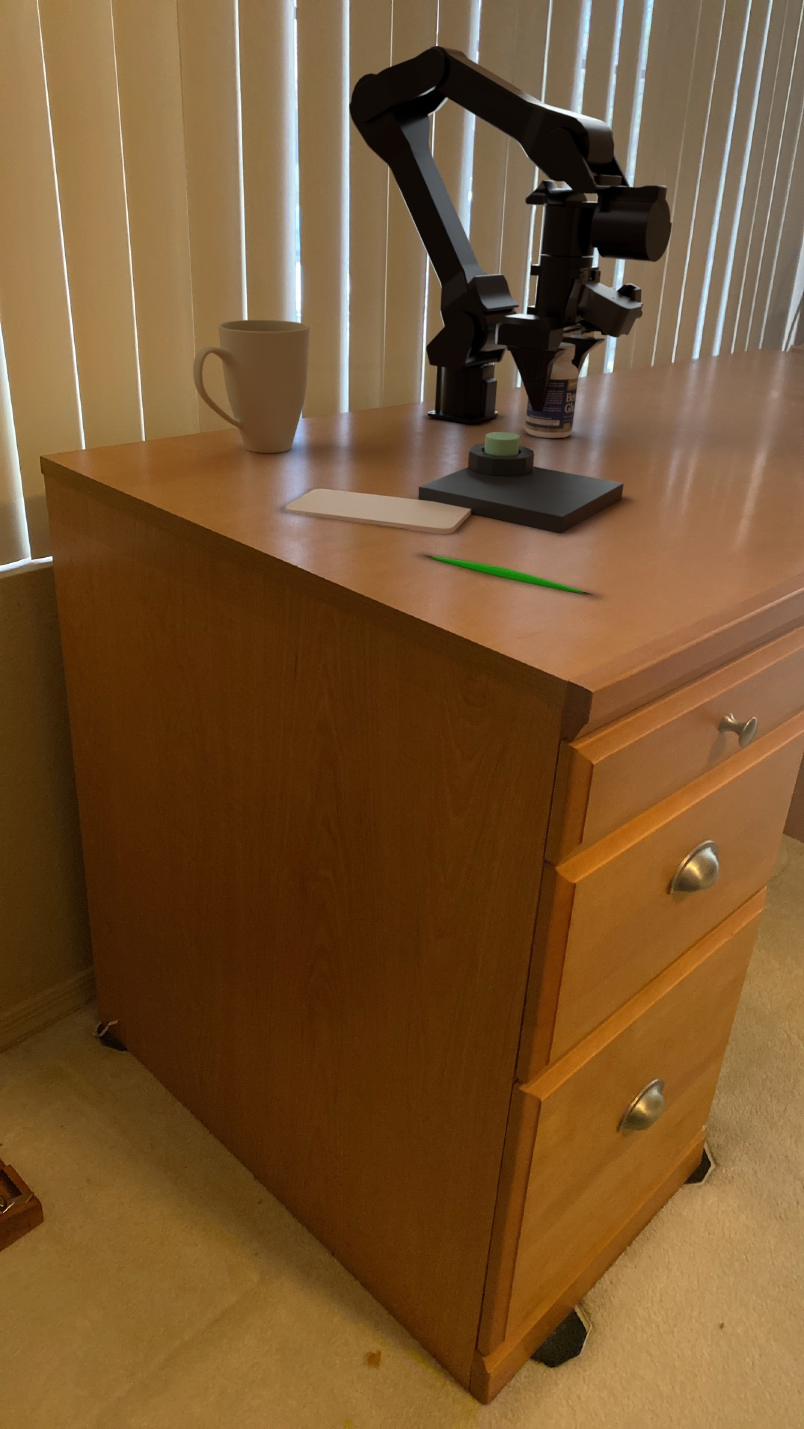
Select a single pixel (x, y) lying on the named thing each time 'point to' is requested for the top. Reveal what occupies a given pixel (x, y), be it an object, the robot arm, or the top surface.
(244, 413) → the mug
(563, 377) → the pill bottle
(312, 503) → the smartphone
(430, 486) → the scale
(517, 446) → the button
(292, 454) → the top surface
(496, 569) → the green tapered stick
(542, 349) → the robot arm
